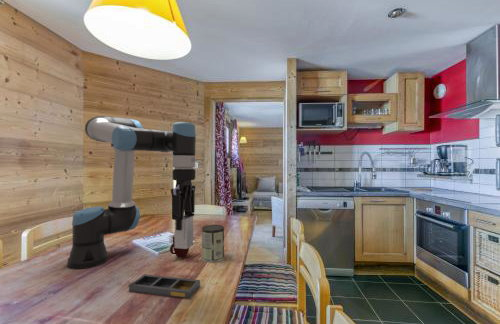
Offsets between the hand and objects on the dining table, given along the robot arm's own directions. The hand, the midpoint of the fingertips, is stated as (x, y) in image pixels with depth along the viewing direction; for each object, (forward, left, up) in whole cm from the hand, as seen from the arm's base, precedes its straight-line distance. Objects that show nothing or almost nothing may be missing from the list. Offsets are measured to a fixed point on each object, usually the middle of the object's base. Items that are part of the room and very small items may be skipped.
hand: (183, 236), depth 85 cm
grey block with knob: (0, 0, -3) cm, 3 cm away
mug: (-16, +28, -19) cm, 37 cm away
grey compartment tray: (-7, 0, -19) cm, 20 cm away
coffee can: (-1, +31, -19) cm, 36 cm away
